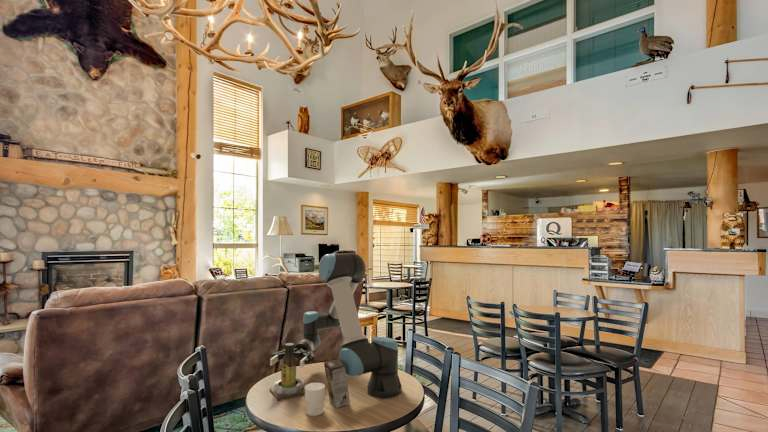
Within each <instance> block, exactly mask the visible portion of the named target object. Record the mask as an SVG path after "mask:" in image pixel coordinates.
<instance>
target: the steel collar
mask: <svg viewBox="0 0 768 432" xmlns="http://www.w3.org/2000/svg"><path fill="white" fill-rule="evenodd" d="M273 385H274V386H273V387H274V392H275V393H276V394H279V395H293V394H297V393H299V392H301V390H302V387H303V381H302V380H301V379H299V378H296V385H295V386H290V387H282V386H281V379H279V380H276V381H275V382H274V384H273Z"/></svg>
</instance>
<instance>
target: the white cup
mask: <svg viewBox="0 0 768 432" xmlns="http://www.w3.org/2000/svg"><path fill="white" fill-rule="evenodd" d="M304 389H305V395H304V401H305V402H304V404H305V414H306V415H307V416H312V417H316V416H320V415H322V414H323V413H324V407H325V406H324V404H325V396H326V395H325V392H326V385H325V384H324V383H322V382H311V383H308V384H306V385H304Z"/></svg>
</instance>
